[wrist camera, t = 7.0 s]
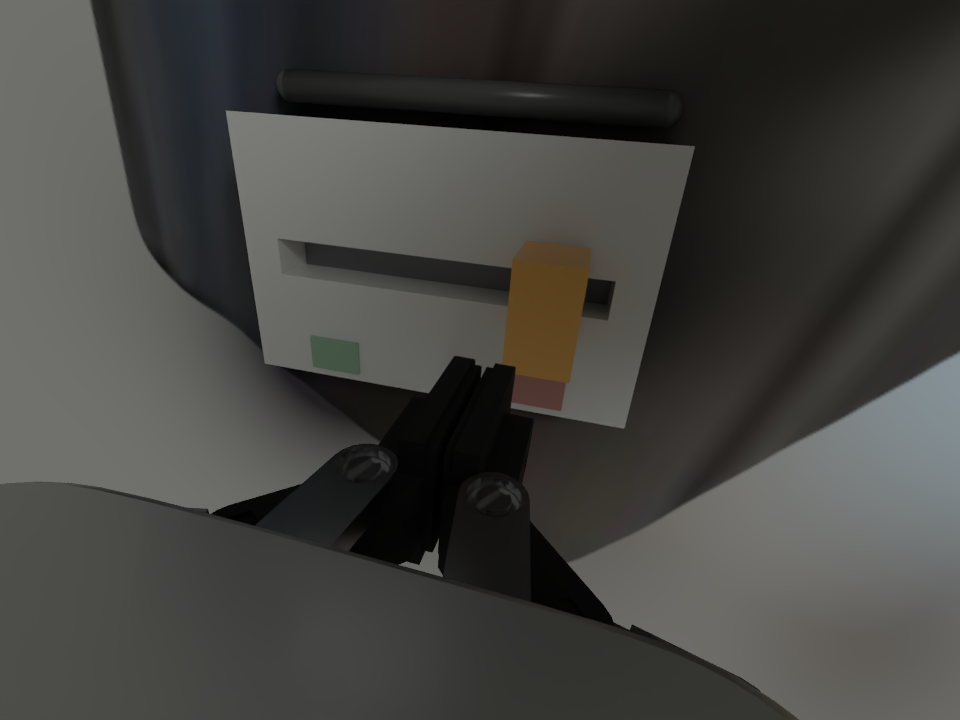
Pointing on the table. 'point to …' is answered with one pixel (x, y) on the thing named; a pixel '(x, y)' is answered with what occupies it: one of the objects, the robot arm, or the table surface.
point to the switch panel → (453, 229)
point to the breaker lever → (545, 309)
